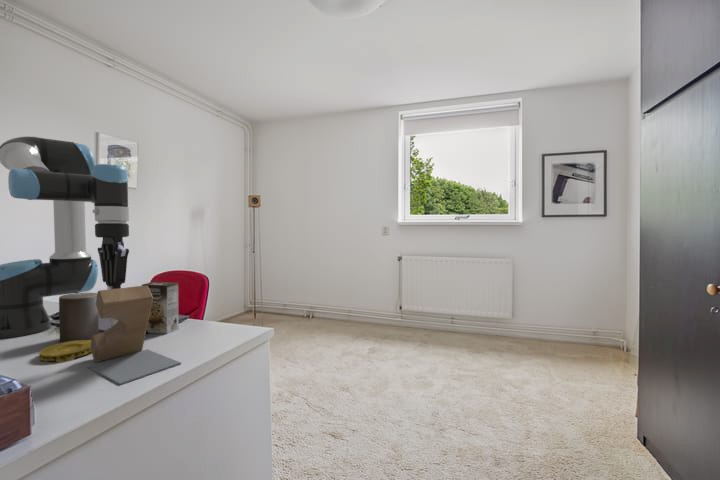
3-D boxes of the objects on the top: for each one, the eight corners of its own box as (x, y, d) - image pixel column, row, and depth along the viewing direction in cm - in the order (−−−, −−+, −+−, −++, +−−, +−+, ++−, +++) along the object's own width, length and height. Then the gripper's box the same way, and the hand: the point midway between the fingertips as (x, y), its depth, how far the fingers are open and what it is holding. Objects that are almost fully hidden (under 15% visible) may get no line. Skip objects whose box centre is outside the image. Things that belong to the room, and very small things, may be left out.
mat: (88, 367, 87) (88, 366, 87) (147, 350, 99) (147, 349, 99) (120, 385, 78) (120, 383, 78) (180, 364, 89) (180, 362, 89)
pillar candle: (54, 345, 102) (53, 295, 102) (66, 335, 111) (65, 289, 111) (94, 341, 106) (93, 293, 106) (103, 332, 115) (102, 287, 115)
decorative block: (93, 363, 90) (101, 304, 82) (89, 346, 93) (97, 289, 85) (142, 352, 98) (154, 298, 90) (137, 337, 101) (148, 284, 93)
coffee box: (141, 333, 114) (140, 284, 114) (155, 327, 121) (154, 281, 120) (167, 334, 113) (166, 285, 112) (179, 328, 120) (178, 281, 119)
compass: (27, 361, 91) (26, 353, 91) (72, 346, 103) (72, 338, 103) (65, 365, 89) (64, 357, 89) (106, 348, 101) (106, 341, 101)
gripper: (85, 222, 95) (88, 308, 96) (106, 222, 87) (109, 315, 89) (116, 222, 101) (119, 303, 102) (138, 222, 94) (141, 309, 95)
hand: (114, 308), depth 95 cm, fingers closed
